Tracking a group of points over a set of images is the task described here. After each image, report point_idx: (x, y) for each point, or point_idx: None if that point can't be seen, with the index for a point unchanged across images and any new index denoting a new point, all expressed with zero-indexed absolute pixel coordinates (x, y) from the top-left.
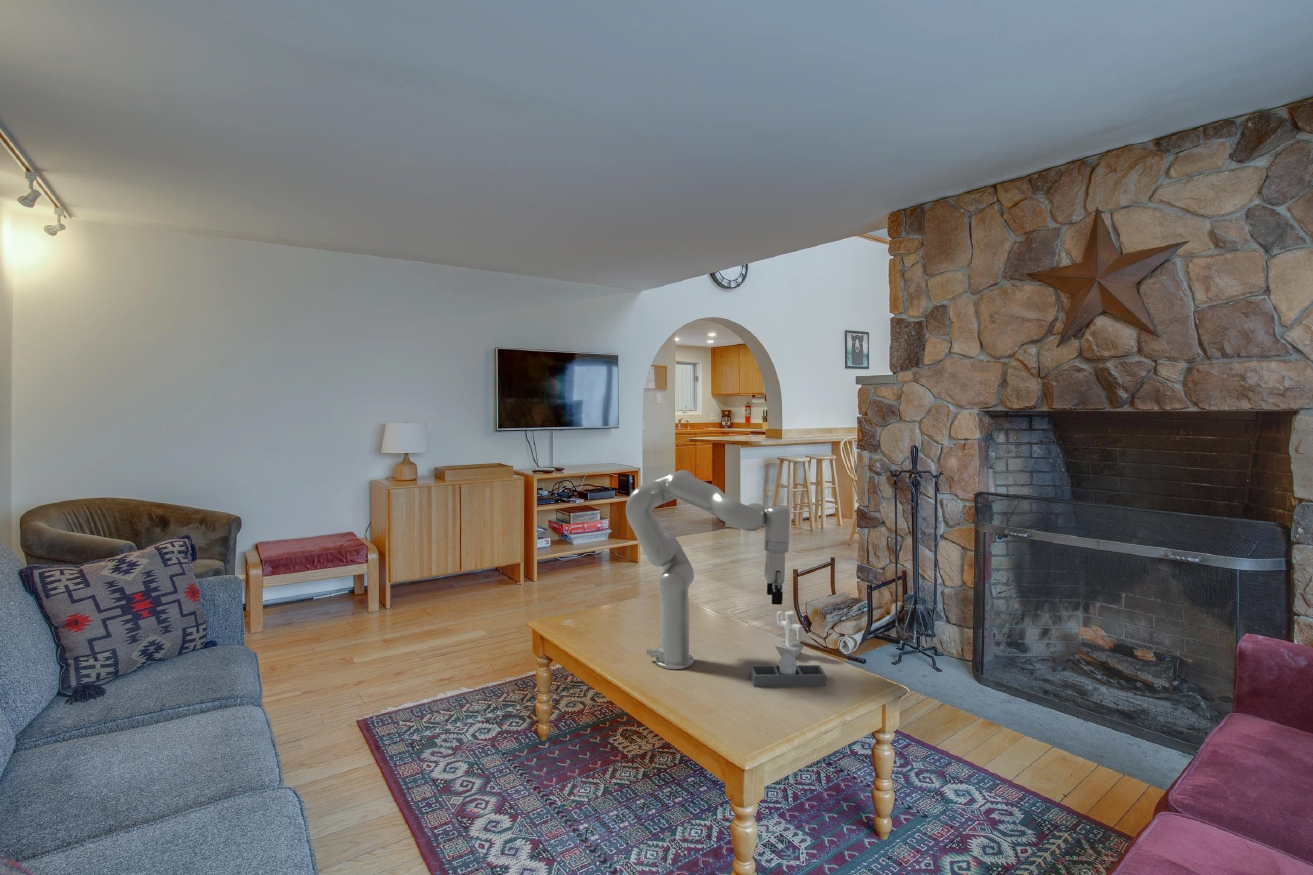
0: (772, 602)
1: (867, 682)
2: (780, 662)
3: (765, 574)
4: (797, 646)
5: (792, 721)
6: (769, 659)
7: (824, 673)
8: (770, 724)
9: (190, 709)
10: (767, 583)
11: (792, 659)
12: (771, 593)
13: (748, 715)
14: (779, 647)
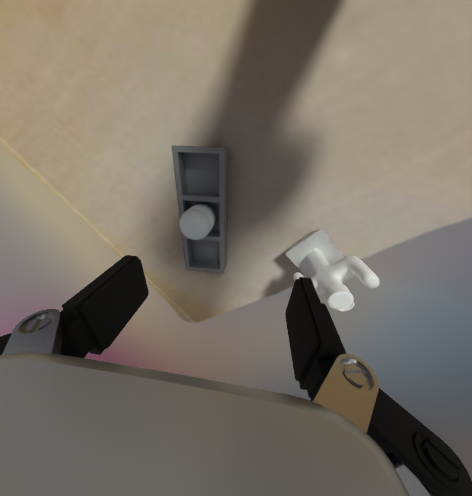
0: (123, 260)
1: (205, 305)
2: (189, 209)
3: (226, 485)
4: (304, 266)
5: (74, 183)
6: (300, 207)
7: (192, 269)
8: (52, 145)
9: None
10: (320, 337)
11: (183, 233)
12: (292, 299)
13: (66, 110)
14: (311, 234)
